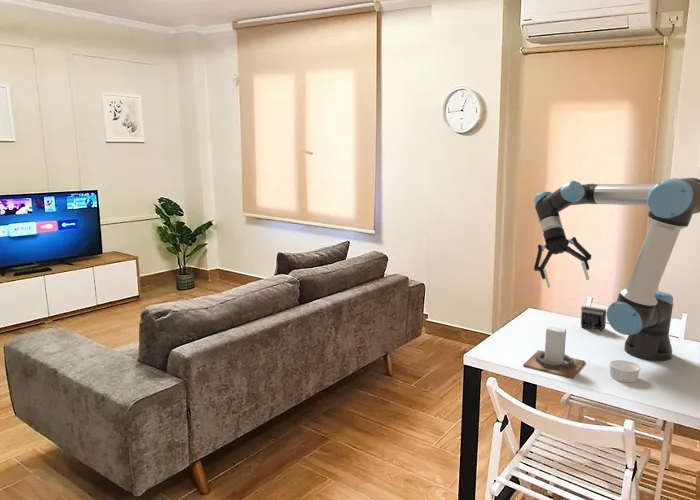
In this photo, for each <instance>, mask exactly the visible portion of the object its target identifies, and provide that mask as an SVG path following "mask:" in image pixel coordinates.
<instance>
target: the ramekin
mask: <svg viewBox="0 0 700 500" xmlns="http://www.w3.org/2000/svg"><path fill="white" fill-rule="evenodd" d="M640 371H641V366H640V365H639V364H638V363H635V362H633V361H628V360H624V359H622V360H621V359H614V360H612V361H610V362H609V375H610V377H611V378H612V379H614V380H615V381H618V382H623V383H628V384H629V383H635V382H637V381H638V379H639V374H640Z"/></svg>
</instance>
